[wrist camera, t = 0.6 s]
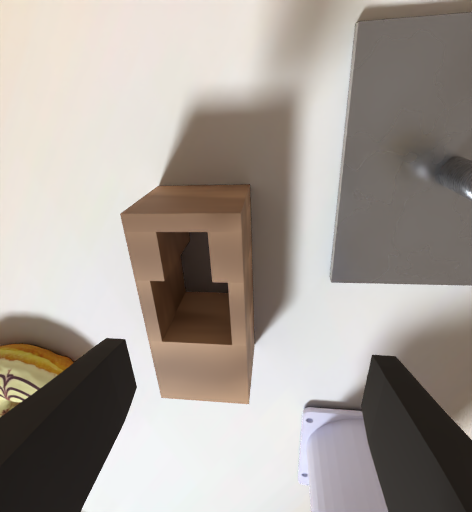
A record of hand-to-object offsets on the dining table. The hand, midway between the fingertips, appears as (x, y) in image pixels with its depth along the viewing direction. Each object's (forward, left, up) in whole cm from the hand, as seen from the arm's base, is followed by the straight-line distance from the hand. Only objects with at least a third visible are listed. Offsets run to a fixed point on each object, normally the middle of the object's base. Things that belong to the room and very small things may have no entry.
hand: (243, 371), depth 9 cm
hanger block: (-2, +3, -10) cm, 10 cm away
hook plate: (+4, -9, -10) cm, 14 cm away
